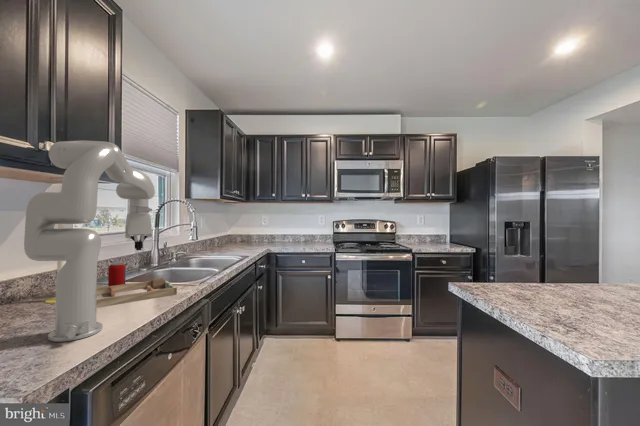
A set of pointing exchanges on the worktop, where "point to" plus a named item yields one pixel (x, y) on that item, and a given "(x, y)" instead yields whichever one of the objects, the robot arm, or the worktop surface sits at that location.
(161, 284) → the block
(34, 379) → the worktop surface
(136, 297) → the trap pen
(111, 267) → the beverage can
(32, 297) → the worktop surface
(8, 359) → the worktop surface
